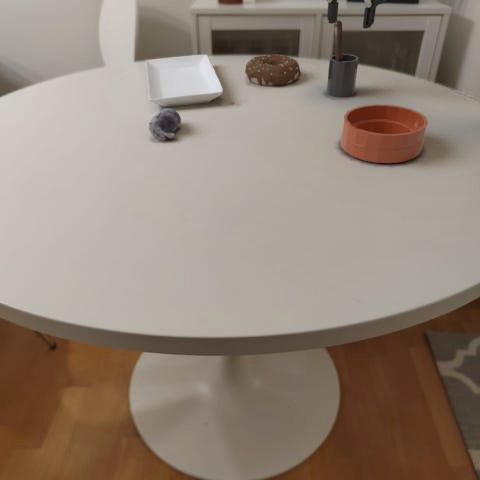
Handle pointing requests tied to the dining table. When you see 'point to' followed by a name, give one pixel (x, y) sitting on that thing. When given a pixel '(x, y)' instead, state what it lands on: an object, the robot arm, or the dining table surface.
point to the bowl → (383, 133)
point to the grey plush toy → (164, 124)
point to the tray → (182, 80)
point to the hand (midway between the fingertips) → (349, 25)
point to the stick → (338, 41)
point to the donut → (272, 70)
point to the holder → (342, 76)
